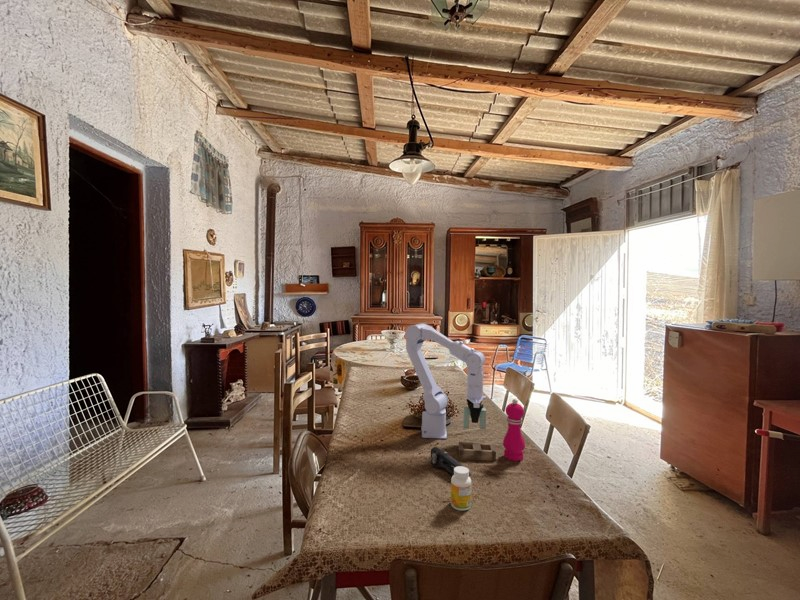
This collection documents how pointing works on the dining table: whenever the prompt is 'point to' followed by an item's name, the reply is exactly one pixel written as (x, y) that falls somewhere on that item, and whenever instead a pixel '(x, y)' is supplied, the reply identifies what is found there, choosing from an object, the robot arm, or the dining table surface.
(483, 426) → the mint green foam block
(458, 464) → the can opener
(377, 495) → the dining table surface
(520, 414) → the pepper mill
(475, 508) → the dining table surface
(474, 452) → the brown wooden frame
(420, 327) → the robot arm
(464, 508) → the supplement bottle
